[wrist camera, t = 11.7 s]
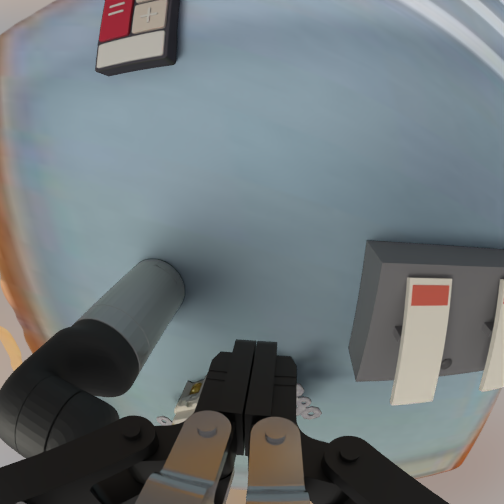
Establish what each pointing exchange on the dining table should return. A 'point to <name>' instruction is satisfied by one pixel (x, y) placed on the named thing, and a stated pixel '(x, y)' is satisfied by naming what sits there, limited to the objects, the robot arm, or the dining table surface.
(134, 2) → the calculator
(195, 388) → the grey boxy piece
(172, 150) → the dining table surface
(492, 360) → the rocker
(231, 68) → the dining table surface
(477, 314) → the rocker switch panel
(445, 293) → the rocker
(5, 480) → the robot arm
